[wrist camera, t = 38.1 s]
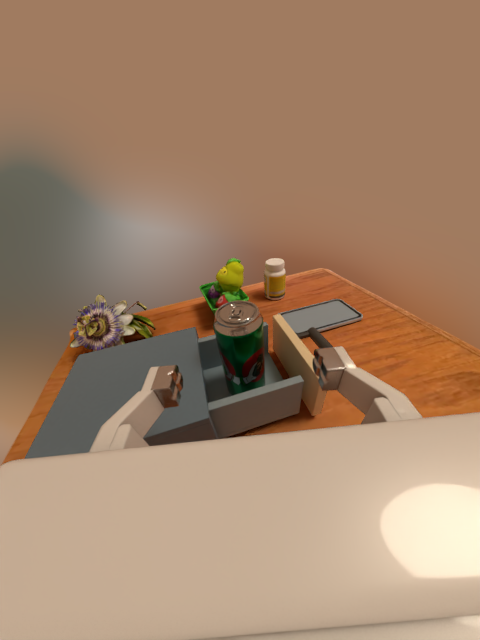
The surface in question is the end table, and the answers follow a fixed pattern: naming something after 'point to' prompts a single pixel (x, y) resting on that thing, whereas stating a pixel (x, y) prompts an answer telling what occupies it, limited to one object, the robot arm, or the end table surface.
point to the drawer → (277, 393)
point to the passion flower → (108, 325)
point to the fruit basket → (225, 286)
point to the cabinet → (126, 395)
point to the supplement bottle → (274, 279)
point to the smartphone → (321, 316)
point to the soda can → (240, 345)
